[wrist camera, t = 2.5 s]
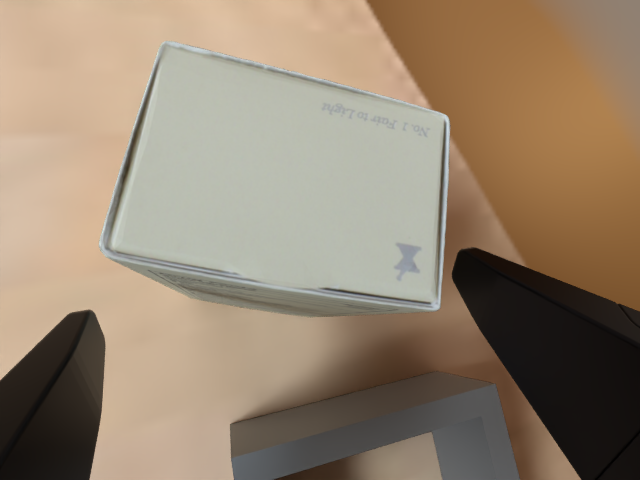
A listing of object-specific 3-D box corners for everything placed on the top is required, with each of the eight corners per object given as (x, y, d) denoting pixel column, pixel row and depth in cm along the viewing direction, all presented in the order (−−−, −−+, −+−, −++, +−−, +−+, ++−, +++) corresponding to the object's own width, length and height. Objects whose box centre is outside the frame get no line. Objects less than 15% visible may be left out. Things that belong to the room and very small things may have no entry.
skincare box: (324, 236, 20) (463, 110, 8) (312, 322, 19) (454, 317, 7) (201, 211, 18) (159, 22, 7) (180, 302, 17) (88, 256, 6)
